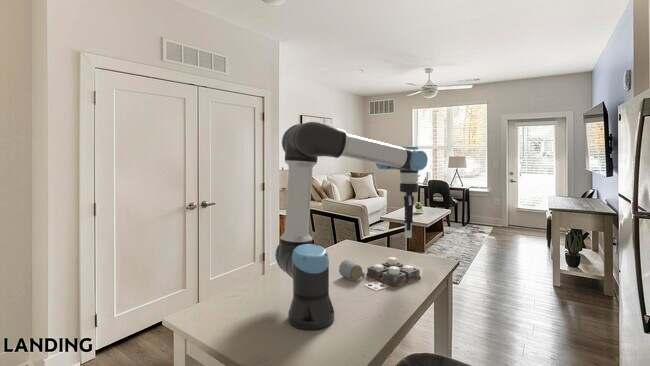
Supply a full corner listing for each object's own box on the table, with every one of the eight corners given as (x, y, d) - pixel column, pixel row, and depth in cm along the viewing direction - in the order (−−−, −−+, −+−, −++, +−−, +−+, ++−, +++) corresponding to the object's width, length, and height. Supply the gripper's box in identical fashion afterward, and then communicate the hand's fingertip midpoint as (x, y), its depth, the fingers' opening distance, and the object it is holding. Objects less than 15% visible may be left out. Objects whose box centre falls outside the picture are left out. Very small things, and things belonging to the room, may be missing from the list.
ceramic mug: (350, 283, 139) (351, 265, 138) (338, 277, 145) (338, 260, 145) (369, 278, 145) (369, 261, 144) (356, 273, 152) (357, 256, 151)
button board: (395, 287, 134) (395, 278, 133) (366, 275, 147) (366, 267, 147) (420, 278, 143) (420, 269, 143) (390, 268, 157) (391, 259, 157)
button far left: (392, 268, 148) (392, 260, 148) (385, 265, 152) (385, 258, 151) (399, 266, 151) (399, 258, 151) (392, 263, 154) (392, 256, 154)
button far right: (408, 277, 141) (408, 269, 141) (400, 274, 145) (400, 266, 144) (415, 275, 144) (415, 267, 144) (407, 272, 147) (407, 264, 147)
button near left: (378, 276, 143) (378, 268, 143) (371, 273, 147) (371, 265, 146) (385, 273, 146) (385, 266, 145) (378, 271, 149) (378, 263, 149)
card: (376, 291, 131) (376, 289, 131) (363, 285, 136) (363, 284, 136) (388, 286, 135) (388, 285, 135) (376, 281, 140) (376, 280, 140)
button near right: (394, 278, 136) (394, 270, 135) (386, 275, 139) (386, 267, 139) (401, 276, 138) (401, 268, 138) (393, 273, 142) (393, 265, 142)
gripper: (420, 184, 134) (419, 241, 136) (416, 181, 147) (415, 234, 149) (401, 183, 135) (400, 240, 137) (398, 181, 148) (398, 233, 150)
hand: (408, 237), depth 143 cm, fingers closed
